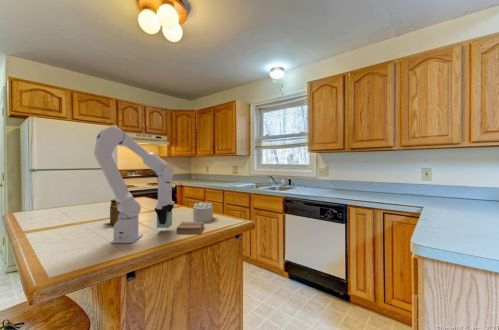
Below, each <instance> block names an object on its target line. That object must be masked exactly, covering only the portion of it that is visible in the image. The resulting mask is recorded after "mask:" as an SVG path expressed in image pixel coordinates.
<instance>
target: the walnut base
mask: <svg viewBox="0 0 499 330" xmlns="http://www.w3.org/2000/svg"><path fill="white" fill-rule="evenodd" d="M204 228H205V223H204V222H195V221H182V222H181V223H180V224H178V226H177V227H176V234H177V235H180V234H181V235H183V234H184V235H185V234H188V235H189V234H190V235H191V234H192V235H194V234H195V235H197V234H201V233H202V231H203V230H204Z"/></svg>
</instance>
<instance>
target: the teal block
mask: <svg viewBox="0 0 499 330" xmlns="http://www.w3.org/2000/svg"><path fill="white" fill-rule="evenodd" d="M172 225H173V211H171V212H167V216H166V222H165V224H160V223H159V219H158V216H157V215H156V228H157V229H159V228H160V229H164V228H165V229H169V228H171V226H172Z"/></svg>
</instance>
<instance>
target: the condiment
mask: <svg viewBox="0 0 499 330" xmlns="http://www.w3.org/2000/svg"><path fill="white" fill-rule="evenodd" d="M119 213H120V212H119V211H118V210H117V202H116V200H115V198H114V199H112V200H110V205H109V222H106V223H103V225H104V226H105V227H107V228H110V227H114V225H115V223H116V222H117V221H118V215H119Z"/></svg>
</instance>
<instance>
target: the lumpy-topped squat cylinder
mask: <svg viewBox="0 0 499 330" xmlns="http://www.w3.org/2000/svg"><path fill="white" fill-rule="evenodd" d="M192 209H193V211H192V212H193V213H192V214H193V218H192V220H193V221H192V222H205V223H209V222H213V220H214V205H213V203H210V202H199V203H194V205H193V208H192Z"/></svg>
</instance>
